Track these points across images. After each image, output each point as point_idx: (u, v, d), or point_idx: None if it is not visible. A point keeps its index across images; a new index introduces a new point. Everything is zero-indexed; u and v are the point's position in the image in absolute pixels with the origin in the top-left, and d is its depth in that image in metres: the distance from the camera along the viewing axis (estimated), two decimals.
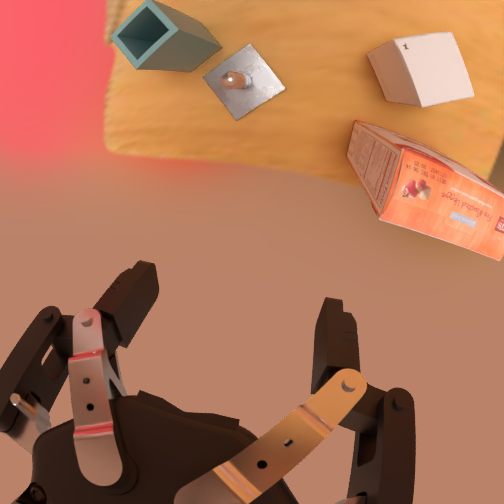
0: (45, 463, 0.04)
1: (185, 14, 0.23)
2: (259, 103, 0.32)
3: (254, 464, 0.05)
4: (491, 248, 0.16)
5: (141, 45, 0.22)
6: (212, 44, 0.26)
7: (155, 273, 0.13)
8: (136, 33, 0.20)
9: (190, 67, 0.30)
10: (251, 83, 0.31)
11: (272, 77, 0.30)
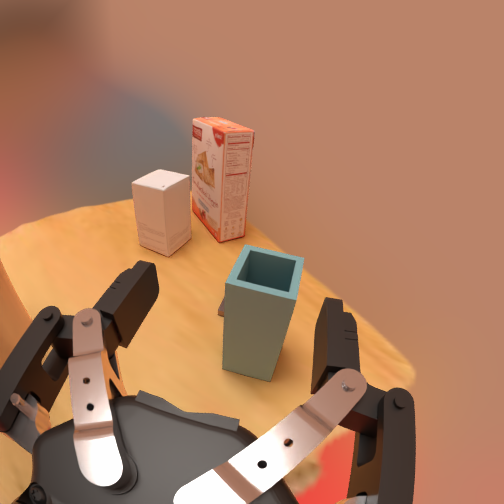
0: (45, 463, 0.04)
1: None
2: None
3: (254, 464, 0.05)
4: (219, 118, 0.48)
5: None
6: None
7: (155, 273, 0.13)
8: None
9: None
10: None
11: None
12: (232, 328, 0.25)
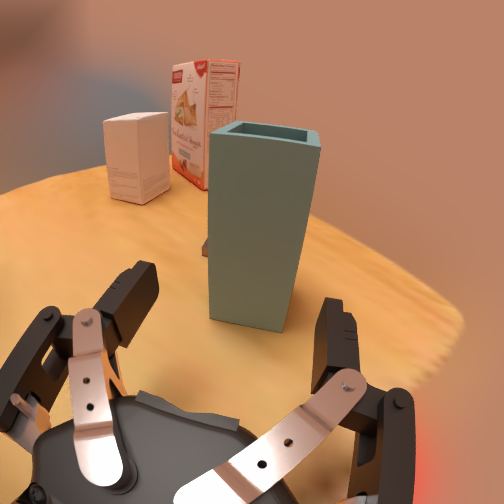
0: (45, 463, 0.04)
1: (208, 268, 0.19)
2: None
3: (254, 464, 0.05)
4: None
5: None
6: None
7: (155, 273, 0.13)
8: None
9: None
10: None
11: None
12: (221, 227, 0.17)
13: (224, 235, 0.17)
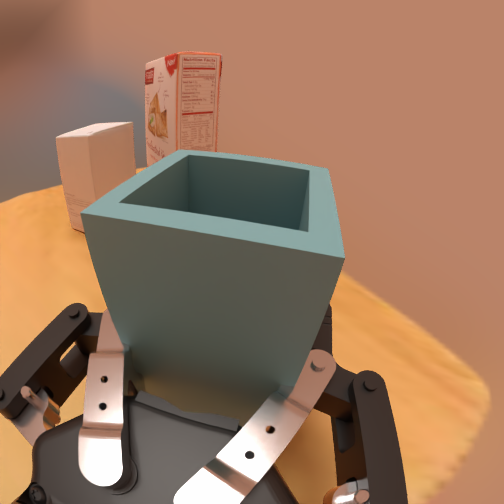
0: (44, 461, 0.04)
1: None
2: None
3: (242, 456, 0.05)
4: None
5: None
6: None
7: None
8: None
9: None
10: None
11: None
12: (147, 362, 0.09)
13: (155, 372, 0.09)
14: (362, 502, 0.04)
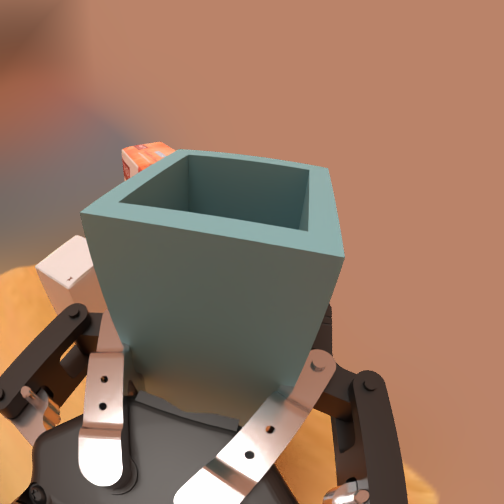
0: (44, 461, 0.04)
1: None
2: None
3: (242, 456, 0.05)
4: (159, 144, 0.31)
5: None
6: None
7: None
8: None
9: None
10: None
11: None
12: (147, 362, 0.09)
13: (155, 372, 0.09)
14: (362, 502, 0.04)
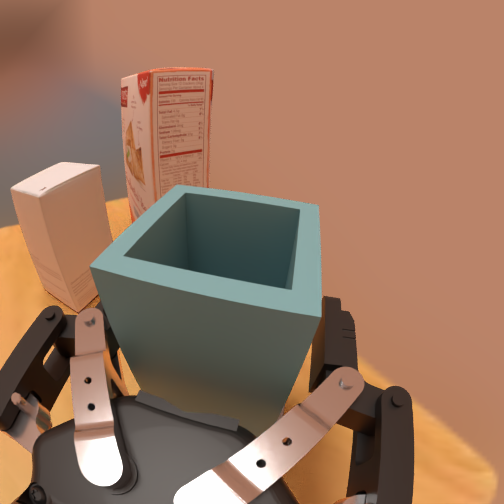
0: (45, 463, 0.04)
1: None
2: None
3: (253, 463, 0.05)
4: None
5: None
6: None
7: None
8: None
9: None
10: None
11: None
12: (153, 383, 0.09)
13: (160, 391, 0.10)
14: None
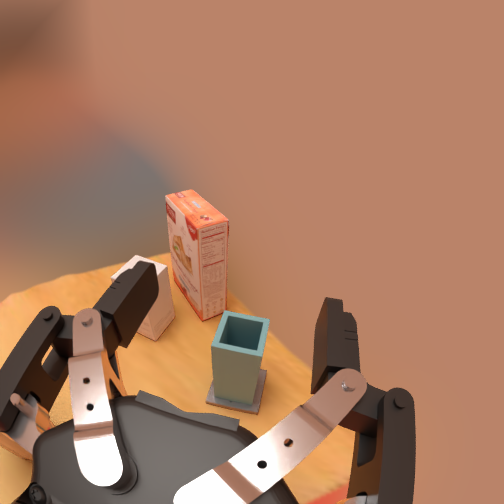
0: (45, 463, 0.04)
1: (213, 382, 0.35)
2: None
3: (254, 464, 0.05)
4: (192, 193, 0.49)
5: None
6: None
7: (155, 273, 0.13)
8: None
9: None
10: None
11: None
12: (219, 372, 0.33)
13: (220, 374, 0.33)
14: None
